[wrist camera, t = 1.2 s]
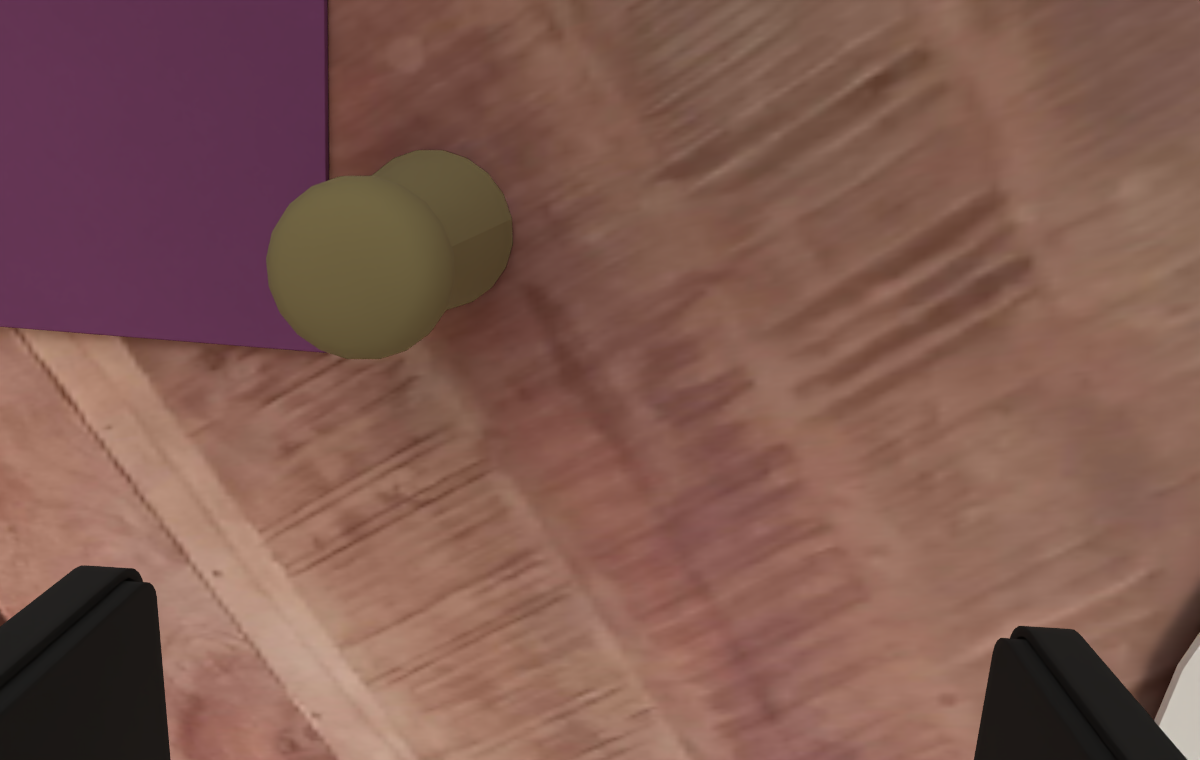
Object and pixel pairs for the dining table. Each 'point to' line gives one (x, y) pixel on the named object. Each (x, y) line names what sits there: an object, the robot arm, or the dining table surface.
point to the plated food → (1183, 704)
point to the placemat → (156, 162)
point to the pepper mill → (388, 253)
